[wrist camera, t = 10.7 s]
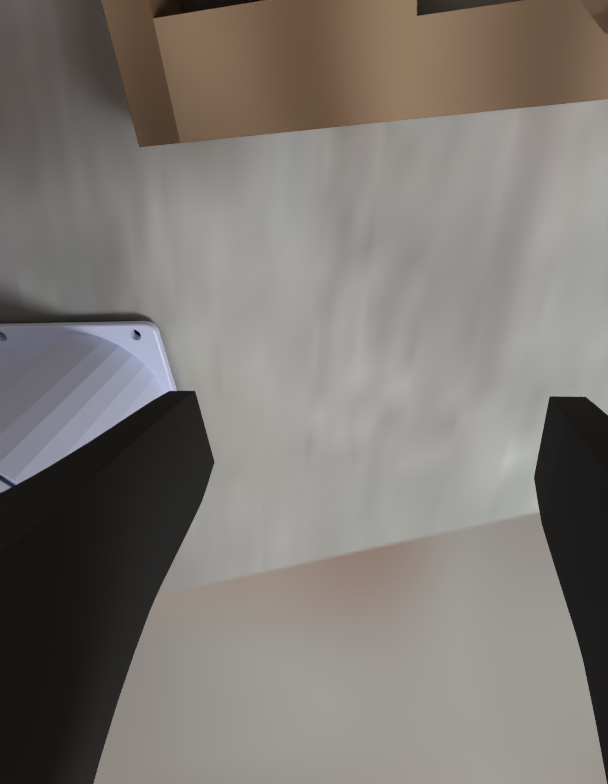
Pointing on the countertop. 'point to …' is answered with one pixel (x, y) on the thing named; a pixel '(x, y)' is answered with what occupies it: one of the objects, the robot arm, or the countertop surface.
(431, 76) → the keyhole board
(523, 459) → the countertop surface
